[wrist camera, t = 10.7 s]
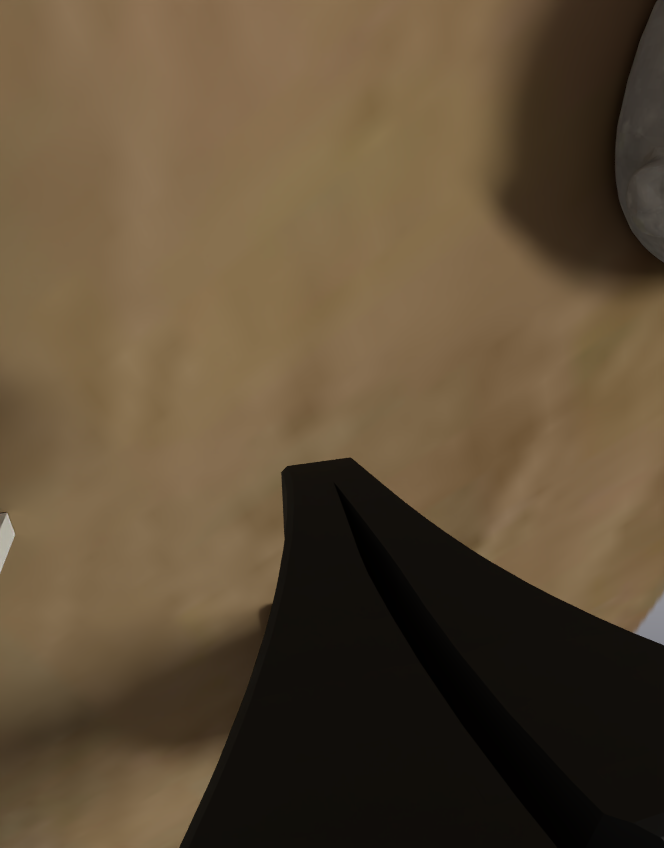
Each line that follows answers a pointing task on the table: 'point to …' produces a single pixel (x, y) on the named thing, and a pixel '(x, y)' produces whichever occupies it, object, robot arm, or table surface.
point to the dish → (644, 139)
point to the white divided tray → (5, 537)
